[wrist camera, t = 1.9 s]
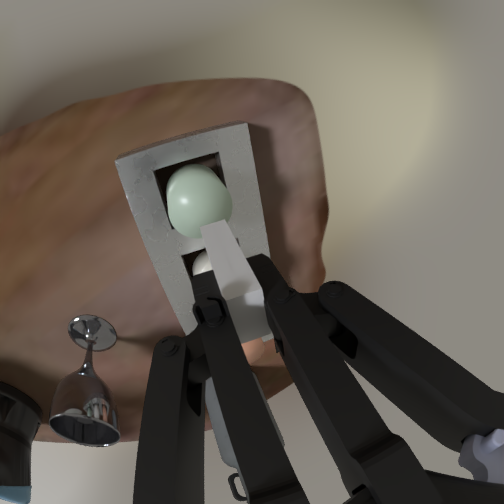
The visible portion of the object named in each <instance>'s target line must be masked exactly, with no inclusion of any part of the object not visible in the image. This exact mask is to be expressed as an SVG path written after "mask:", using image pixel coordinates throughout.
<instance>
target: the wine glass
mask: <svg viewBox="0 0 504 504" xmlns="http://www.w3.org/2000/svg"><path fill="white" fill-rule="evenodd" d="M68 333H69V336H70V337H71V339H72V340H73V342H74V343H76V344H77V345H78V346H79V347H81V348H83V349H86V350H87V352H86V356H85V360H84V363H83V365H82V366H81V368H79V369H78V370H77V371H75V372H73V373H71V374H69V375H67V376H65V377H64V378H63V379H62V380H61V381H60V383H59V384H58V386H57V388H56V390H55V393H54V396H53V399H52V402H51V408H50V415H49V426H50V428H51V429H52V431H53V432H55V433H56V434H57V435H58V436H60V437H62V438H64V439H66V440H68V441H70V442H73V443H76V444H80V445H84V446H91V447H106V446H111V445H114V444H116V443H118V442H119V441H120V424H119V415H118V411H117V406H116V402H115V399H114V396H113V394H112V391H111V390H110V388H109V387H108V386H107V384H106V383H105V382H104V381H103V380H102V379H101V378H100V377H99V376H98V375H97V374H96V372H95V370H94V368H93V361H92V351H94V352H101V351H106V350H108V349H110V348H111V347H112V346H113V345H114V344H115V342H116V337H117V336H116V332H115V330H114V328H113V327H112V326H111V325H110V324H109V323H108V322H107V321H105V320H104V319H102V318H99V317H97V316H93V315H80V316H77V317H75V318H73V319H72V320H71V321H70V323H69V325H68Z"/></svg>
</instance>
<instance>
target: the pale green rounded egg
mask: <svg viewBox="0 0 504 504" xmlns="http://www.w3.org/2000/svg"><path fill="white" fill-rule="evenodd" d="M166 193H167V204H168V214H169V219H170V221H171V223H172V225H173V227H174V228H175V229H176V230H177V231H178V232H179V233H181V234H183V235H184V236H187V237H190V238H196V239H199V238H203V237H202V234H201V230H200V227H201V226H204V225H207V224H211V223H214V222H217V221H221V220H224V219H225V221H226V223H228V221H229V219H230V217H231V214H232V208H233V203H232V198H231V195H230V193H229V191H228V190H227V188H226V187H225V186H224V184H223V183H222V182H221V181H220V179H219V178H218V177H217V175H216V174H215V173H214V172H213V171H212V170H211V169H210V168H209V167H207V166H205V165H202V164H187V165H184V166H182V167H180V168H179V169H177V170H176V171H175V172H174V173H173V174H172V175H171V177H170V179H169V181H168V183H167V188H166Z"/></svg>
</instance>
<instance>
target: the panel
mask: <svg viewBox="0 0 504 504" xmlns="http://www.w3.org/2000/svg"><path fill="white" fill-rule="evenodd" d="M211 153H214V154H215V158H216V163H217V167H218V171H219V176H220V180H221V182H222V183H223V184H224V186H225V187H226V188H227V190H228V191H229V193H230V195H231V198H232V203H233V208H232V214H231V217H230V219H229V221H228V223H227V224H228V226H229V228H230V230H231V232H232V234H233V236H234V237H235V239H236V241H237V243H238V245H239V247H240V249H241V251H242V252H243V254H244V256H245V258H248V257H251V256H254V255H258V254H261V253H262V254H264V255H266V256H268V257H269V258H270V252H269V246H268V240H267V234H266V228H265V222H264V216H263V210H262V204H261V198H260V192H259V186H258V181H257V175H256V169H255V163H254V158H253V152H252V146H251V141H250V135H249V130H248V124H247V123H246V122H242V121H234V122H229V123H225V124H221V125H216V126H212V127H208V128H204V129H200V130H196V131H193V132H189V133H185V134H182V135H178V136H175V137H171V138H168V139H165V140H161V141H158V142H155V143H152V144H149V145H146V146H143V147H140V148H137V149H134V150H131V151H128V152H126V153H123V154H120V155H119V156H118V157H117V158H116V160H115V164H116V167H117V170H118V174H119V177H120V180H121V182H122V185H123V188H124V191H125V194H126V197H127V200H128V202H129V205H130V208H131V211H132V213H133V216H134V219H135V221H136V224H137V227H138V229H139V232H140V234H141V237H142V239H143V242H144V244H145V247H146V249H147V252H148V254H149V256H150V259H151V261H152V263H153V266H154V268H155V270H156V273H157V275H158V277H159V279H160V282H161V284H162V286H163V288H164V291H165V293H166V295H167V297H168V299H169V301H170V303H171V306H172V308H173V310H174V312H175V314H176V316H177V318H178V320H179V322H180V324H181V326H182V328H183V330H184V332H185V334H186V336H187V335H189V334H190V333H191V332H193V330H194V329H195V328H196V327H197V325H198V323H197V321H196V319H195V316H194V314H193V312H192V308H193V305H194V303H195V299H194V295H193V290H192V285H191V282H192V278H191V275H190V273H189V270H188V267H187V264H186V262H185V259H184V256H183V255H185V254H188V253H191V252H194V251H197V250H200V249H203V248H206V247H205V244H204V241H203V238H199V239H196V238H190V237H187V236H184V235H183V234H181V233H179V232H178V231H177V230H176V229H175V228H174V227H173V225H172V223H171V221H170V219H169V214H168V209H167V206H166V203H165V199H164V196H163V193H162V190H161V187H160V183H159V180H158V177H157V173H156V170H157V169H160V168H163V167H166V166H169V165H173V164H176V163H179V162H183V161H186V160H190V159H193V158H197V157H200V156H204V155H207V154H211ZM270 332H271V329H270ZM261 338H262V341H263V342H265V341H267V340H270V339H273V338H274V336H273V334H272V332H271V334H269V335H266V336H263V337H261Z"/></svg>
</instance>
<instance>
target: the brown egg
mask: <svg viewBox="0 0 504 504" xmlns="http://www.w3.org/2000/svg"><path fill="white" fill-rule="evenodd" d="M241 345H242V347H243V350H244V353H245V355H246V358H247V360H248V363H249V364H250V363H252V362H254V361H256V360H257V359H258V358H259V357H260V356H261V355H262V354H263V352H264V350H265V345H264V343H263V341H262V338H261V337H260V338H257V339H255V340H252V341H249V342H246V343H243V344H241Z"/></svg>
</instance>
